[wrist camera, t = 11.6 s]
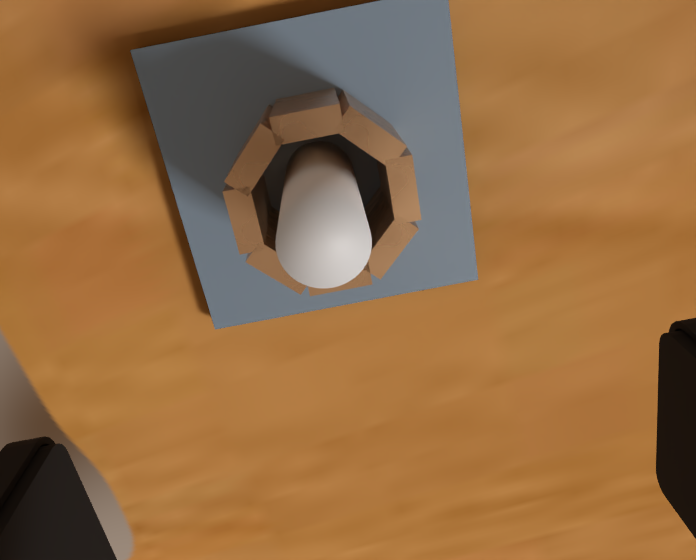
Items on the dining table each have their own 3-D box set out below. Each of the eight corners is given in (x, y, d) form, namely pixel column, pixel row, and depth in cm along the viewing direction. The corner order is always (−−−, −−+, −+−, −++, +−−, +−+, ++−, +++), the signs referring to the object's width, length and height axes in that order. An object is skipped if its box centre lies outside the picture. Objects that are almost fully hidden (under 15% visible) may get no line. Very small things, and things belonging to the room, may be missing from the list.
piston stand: (441, -12, 26) (515, -26, 17) (473, 271, 31) (541, 380, 22) (136, 48, 26) (42, 68, 17) (217, 320, 31) (179, 447, 22)
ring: (387, 77, 26) (403, 91, 22) (410, 232, 29) (429, 273, 24) (223, 109, 26) (205, 129, 22) (262, 260, 29) (253, 307, 24)
